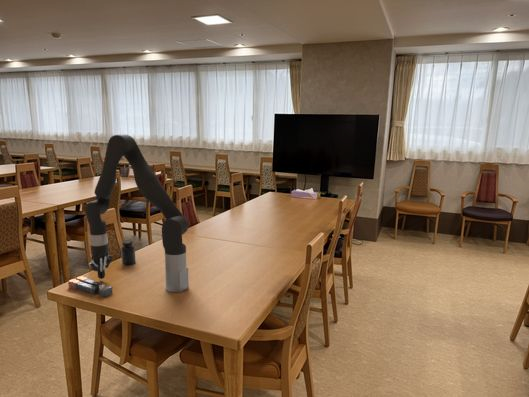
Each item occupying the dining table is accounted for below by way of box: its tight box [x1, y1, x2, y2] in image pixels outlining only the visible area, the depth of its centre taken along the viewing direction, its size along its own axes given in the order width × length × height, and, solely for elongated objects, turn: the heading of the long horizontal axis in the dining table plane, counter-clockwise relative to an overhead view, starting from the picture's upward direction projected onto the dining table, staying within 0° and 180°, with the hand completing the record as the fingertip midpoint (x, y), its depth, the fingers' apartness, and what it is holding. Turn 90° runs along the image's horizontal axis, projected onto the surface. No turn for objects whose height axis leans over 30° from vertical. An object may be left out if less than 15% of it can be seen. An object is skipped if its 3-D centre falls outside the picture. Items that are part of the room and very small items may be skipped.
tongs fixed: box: [67, 278, 113, 298], centre depth 163 cm, size 21×5×4 cm, turn 63°
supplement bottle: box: [120, 239, 136, 266], centre depth 196 cm, size 7×7×12 cm
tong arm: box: [75, 275, 103, 293], centre depth 167 cm, size 16×3×3 cm, turn 62°
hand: (101, 278), depth 174 cm, fingers closed
